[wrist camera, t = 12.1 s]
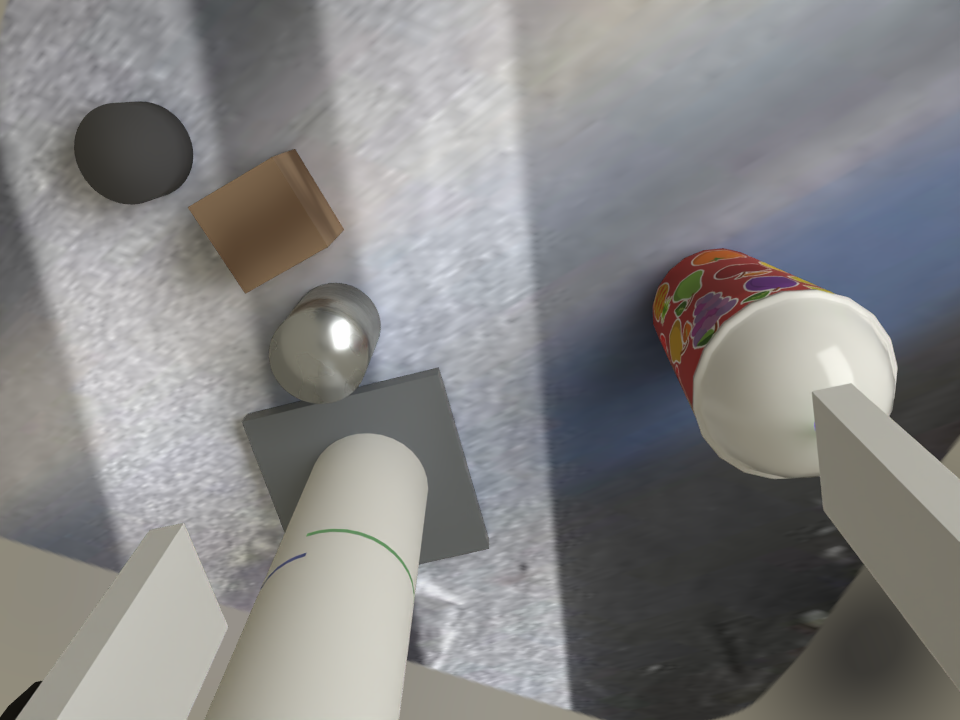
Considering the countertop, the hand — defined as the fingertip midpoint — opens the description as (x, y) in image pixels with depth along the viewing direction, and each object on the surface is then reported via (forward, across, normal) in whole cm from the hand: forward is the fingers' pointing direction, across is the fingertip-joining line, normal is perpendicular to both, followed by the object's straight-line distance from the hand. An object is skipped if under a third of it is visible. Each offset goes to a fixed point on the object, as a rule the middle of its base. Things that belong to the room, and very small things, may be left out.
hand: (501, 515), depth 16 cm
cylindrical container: (+29, -11, -14) cm, 33 cm away
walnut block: (+30, -11, +4) cm, 32 cm away
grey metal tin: (+30, -10, -4) cm, 32 cm away
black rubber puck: (+30, -17, +8) cm, 36 cm away
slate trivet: (+30, -11, -14) cm, 34 cm away
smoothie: (+30, +11, -7) cm, 33 cm away
